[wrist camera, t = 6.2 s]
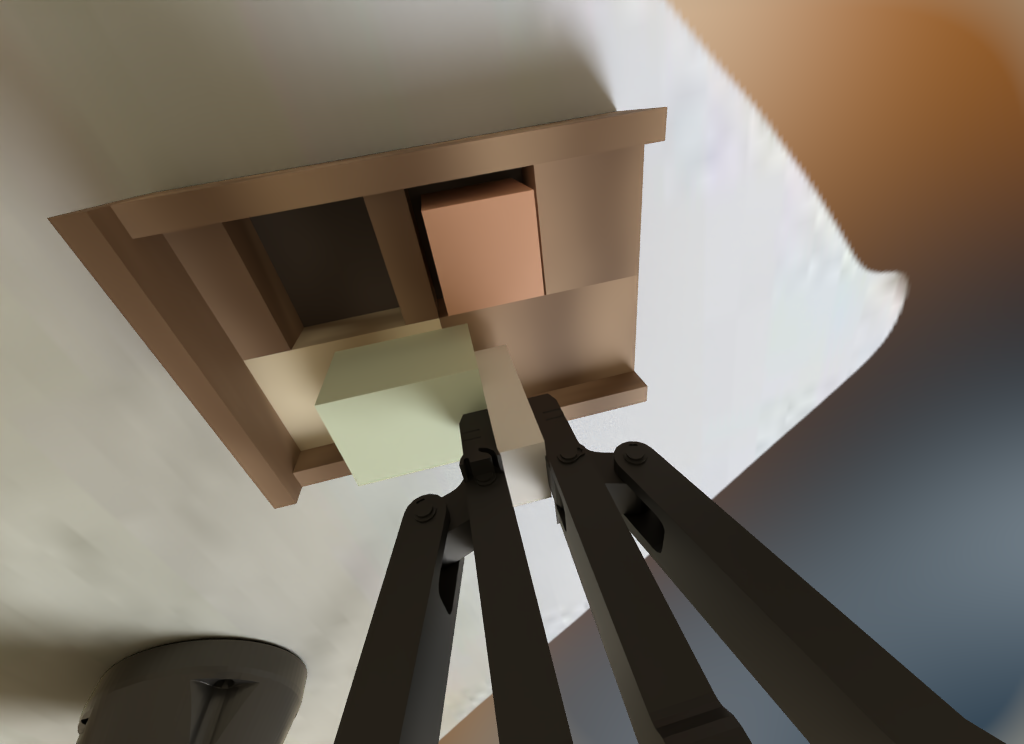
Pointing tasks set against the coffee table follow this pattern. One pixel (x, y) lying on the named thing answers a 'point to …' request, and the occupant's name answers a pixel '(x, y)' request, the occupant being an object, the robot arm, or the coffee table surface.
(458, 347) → the sage block
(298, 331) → the wooden tray
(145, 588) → the coffee table surface
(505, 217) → the rust block
